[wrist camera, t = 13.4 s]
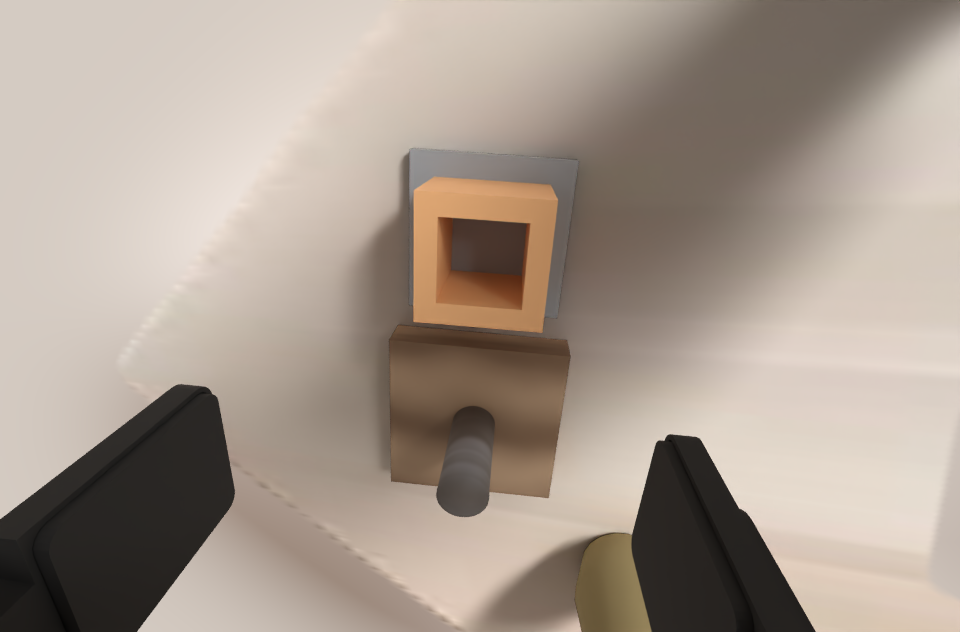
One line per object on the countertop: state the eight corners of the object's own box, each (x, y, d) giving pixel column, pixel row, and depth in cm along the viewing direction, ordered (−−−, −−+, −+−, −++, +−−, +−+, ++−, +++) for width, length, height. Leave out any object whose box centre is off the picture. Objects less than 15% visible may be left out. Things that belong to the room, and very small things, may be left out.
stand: (398, 324, 33) (354, 397, 25) (567, 340, 33) (583, 419, 24) (399, 459, 38) (362, 560, 29) (546, 474, 38) (554, 582, 29)
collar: (434, 176, 28) (413, 190, 23) (550, 184, 28) (558, 200, 22) (432, 286, 31) (413, 321, 25) (538, 294, 31) (542, 332, 25)
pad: (413, 148, 29) (409, 149, 28) (577, 159, 28) (578, 160, 27) (412, 300, 33) (409, 305, 32) (556, 312, 32) (557, 318, 31)
